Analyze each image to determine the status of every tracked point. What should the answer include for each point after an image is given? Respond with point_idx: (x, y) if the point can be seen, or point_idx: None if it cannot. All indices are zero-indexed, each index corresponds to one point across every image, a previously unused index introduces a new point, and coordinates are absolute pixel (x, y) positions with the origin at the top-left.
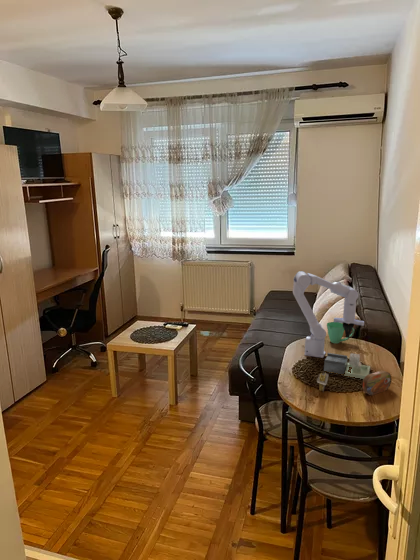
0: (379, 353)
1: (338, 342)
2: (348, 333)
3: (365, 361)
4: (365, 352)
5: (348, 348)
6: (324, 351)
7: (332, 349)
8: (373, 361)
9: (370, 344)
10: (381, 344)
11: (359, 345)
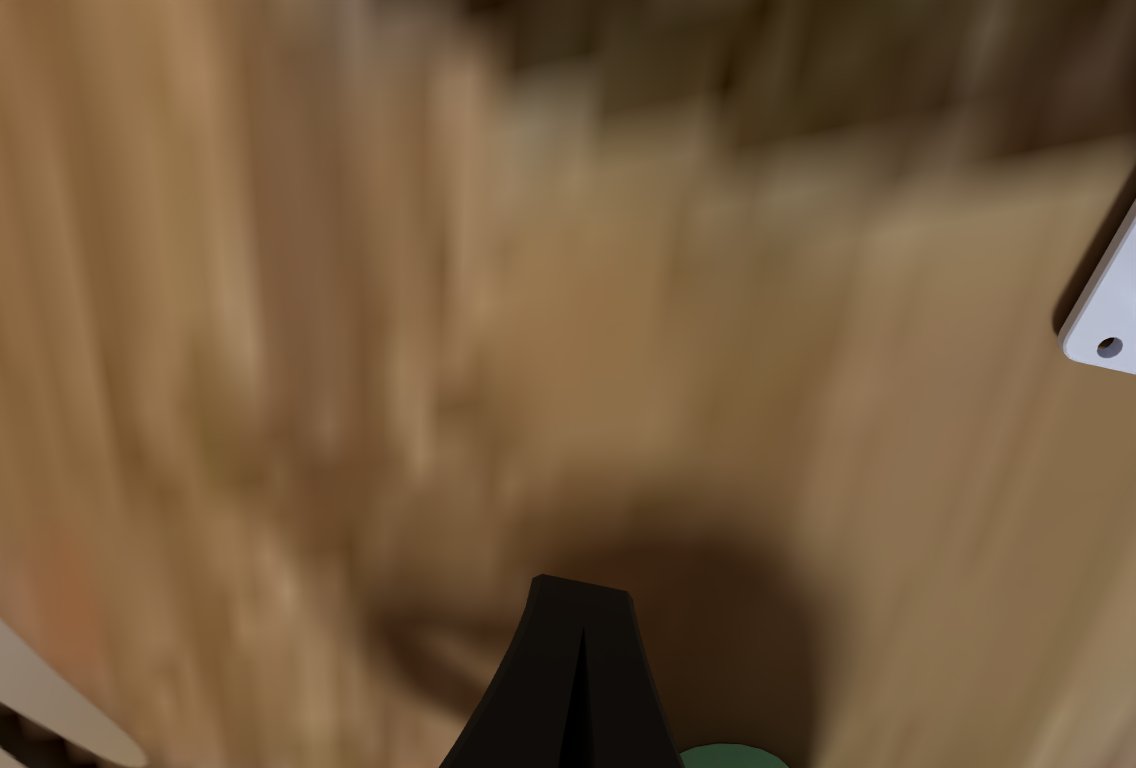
0: (3, 472)
1: None
2: (538, 706)
3: (188, 2)
4: (237, 477)
5: None
6: (1086, 358)
7: (841, 519)
8: (22, 46)
9: (195, 753)
10: (50, 765)
11: (350, 711)
